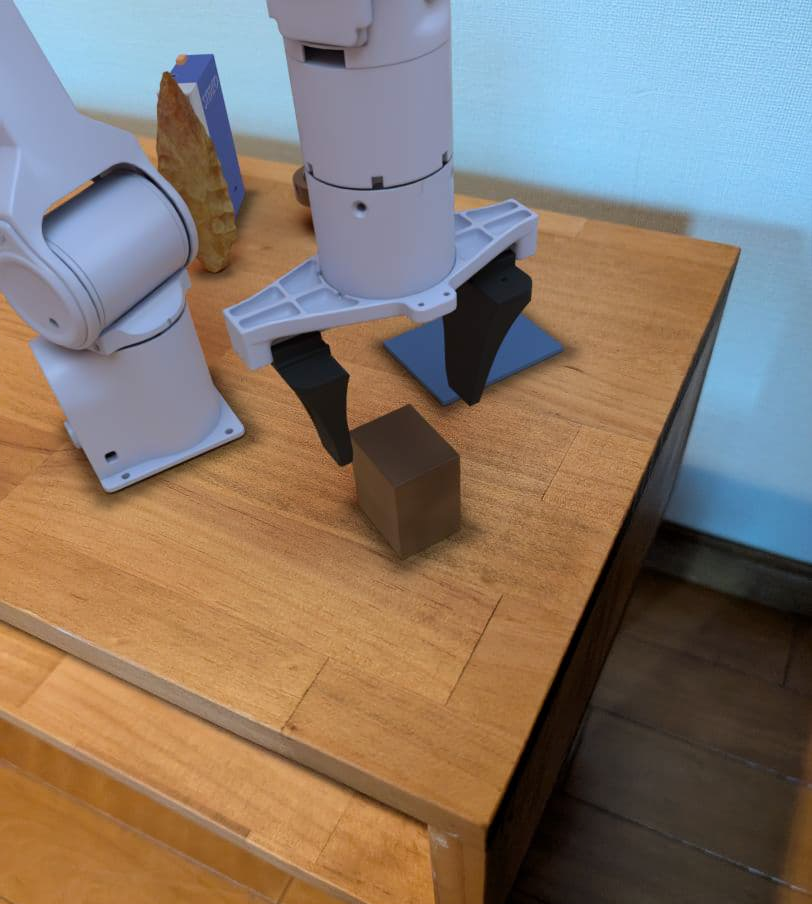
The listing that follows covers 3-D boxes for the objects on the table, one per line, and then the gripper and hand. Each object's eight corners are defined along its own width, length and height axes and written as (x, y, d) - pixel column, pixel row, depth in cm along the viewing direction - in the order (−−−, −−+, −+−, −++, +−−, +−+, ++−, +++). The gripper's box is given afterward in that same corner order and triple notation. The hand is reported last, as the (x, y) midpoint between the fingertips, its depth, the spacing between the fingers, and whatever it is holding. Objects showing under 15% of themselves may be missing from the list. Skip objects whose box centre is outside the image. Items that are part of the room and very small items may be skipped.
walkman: (216, 194, 72) (179, 50, 63) (246, 194, 72) (212, 48, 63) (196, 239, 67) (152, 89, 58) (227, 239, 67) (188, 88, 58)
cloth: (443, 406, 51) (443, 401, 51) (383, 346, 56) (382, 341, 56) (563, 351, 54) (564, 346, 54) (496, 298, 59) (496, 293, 59)
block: (402, 560, 43) (394, 487, 39) (358, 506, 46) (346, 431, 42) (461, 529, 45) (460, 455, 40) (415, 478, 47) (409, 402, 43)
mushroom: (318, 247, 65) (306, 178, 61) (290, 222, 68) (278, 155, 64) (371, 227, 67) (364, 159, 62) (342, 203, 70) (334, 136, 65)
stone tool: (192, 287, 62) (129, 85, 51) (182, 274, 64) (118, 74, 52) (250, 266, 64) (201, 64, 52) (238, 253, 65) (189, 54, 54)
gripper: (246, 264, 25) (313, 533, 36) (596, 135, 29) (563, 409, 40) (170, 182, 29) (250, 446, 40) (487, 79, 33) (484, 342, 44)
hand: (402, 423), depth 40 cm, fingers open, 7 cm apart
